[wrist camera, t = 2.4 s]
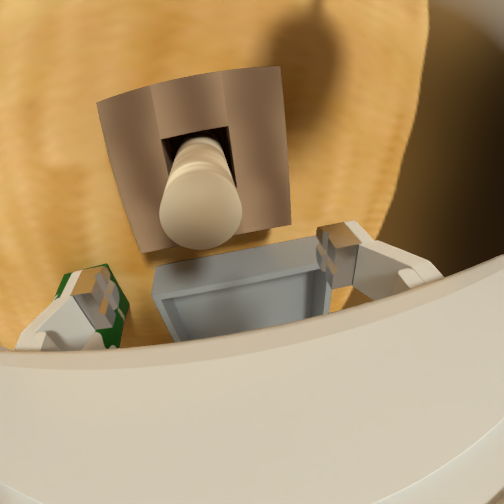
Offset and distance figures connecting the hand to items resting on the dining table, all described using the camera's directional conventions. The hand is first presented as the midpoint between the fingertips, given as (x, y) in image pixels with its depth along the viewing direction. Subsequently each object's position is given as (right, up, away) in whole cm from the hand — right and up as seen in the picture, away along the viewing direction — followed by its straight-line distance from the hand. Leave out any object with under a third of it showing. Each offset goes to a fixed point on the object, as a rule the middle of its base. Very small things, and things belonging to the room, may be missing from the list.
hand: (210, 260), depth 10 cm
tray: (+1, -7, +27) cm, 28 cm away
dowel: (-3, +10, +14) cm, 18 cm away
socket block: (-3, +10, +14) cm, 18 cm away
